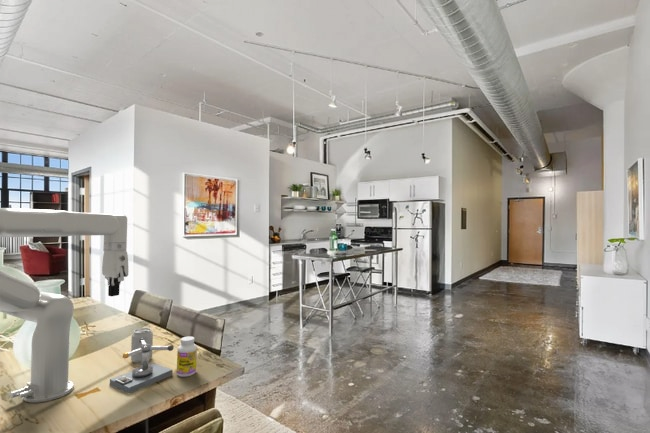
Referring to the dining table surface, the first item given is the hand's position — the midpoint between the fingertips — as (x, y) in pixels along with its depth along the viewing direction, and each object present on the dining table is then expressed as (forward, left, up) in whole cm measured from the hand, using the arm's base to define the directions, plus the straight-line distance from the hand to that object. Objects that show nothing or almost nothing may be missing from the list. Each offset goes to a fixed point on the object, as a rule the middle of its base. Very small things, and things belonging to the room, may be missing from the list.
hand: (113, 295), depth 131 cm
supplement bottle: (+12, -27, -27) cm, 40 cm away
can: (+10, -3, -27) cm, 29 cm away
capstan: (-1, -19, -25) cm, 31 cm away
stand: (0, -19, -27) cm, 33 cm away
